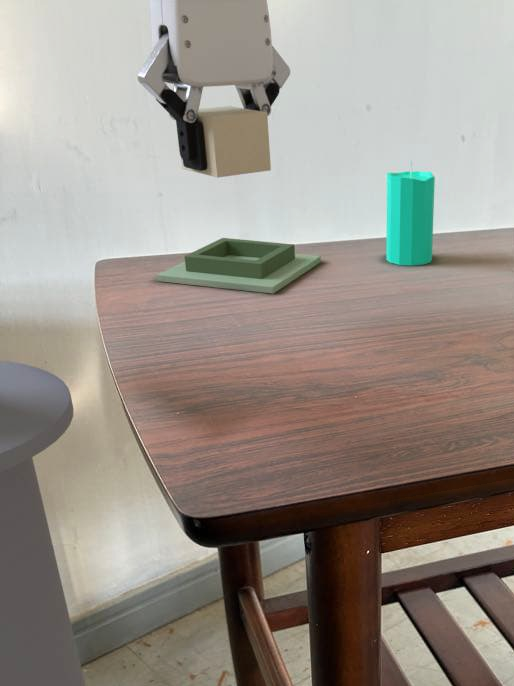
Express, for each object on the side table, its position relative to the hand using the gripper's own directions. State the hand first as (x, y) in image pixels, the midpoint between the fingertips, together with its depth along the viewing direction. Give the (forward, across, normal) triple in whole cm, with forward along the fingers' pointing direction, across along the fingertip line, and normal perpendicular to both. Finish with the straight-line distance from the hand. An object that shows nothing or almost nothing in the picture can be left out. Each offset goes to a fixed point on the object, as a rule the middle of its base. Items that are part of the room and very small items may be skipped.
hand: (225, 162), depth 82 cm
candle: (+16, -32, -8) cm, 36 cm away
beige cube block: (+1, 0, 0) cm, 1 cm away
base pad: (+16, -12, -17) cm, 26 cm away
